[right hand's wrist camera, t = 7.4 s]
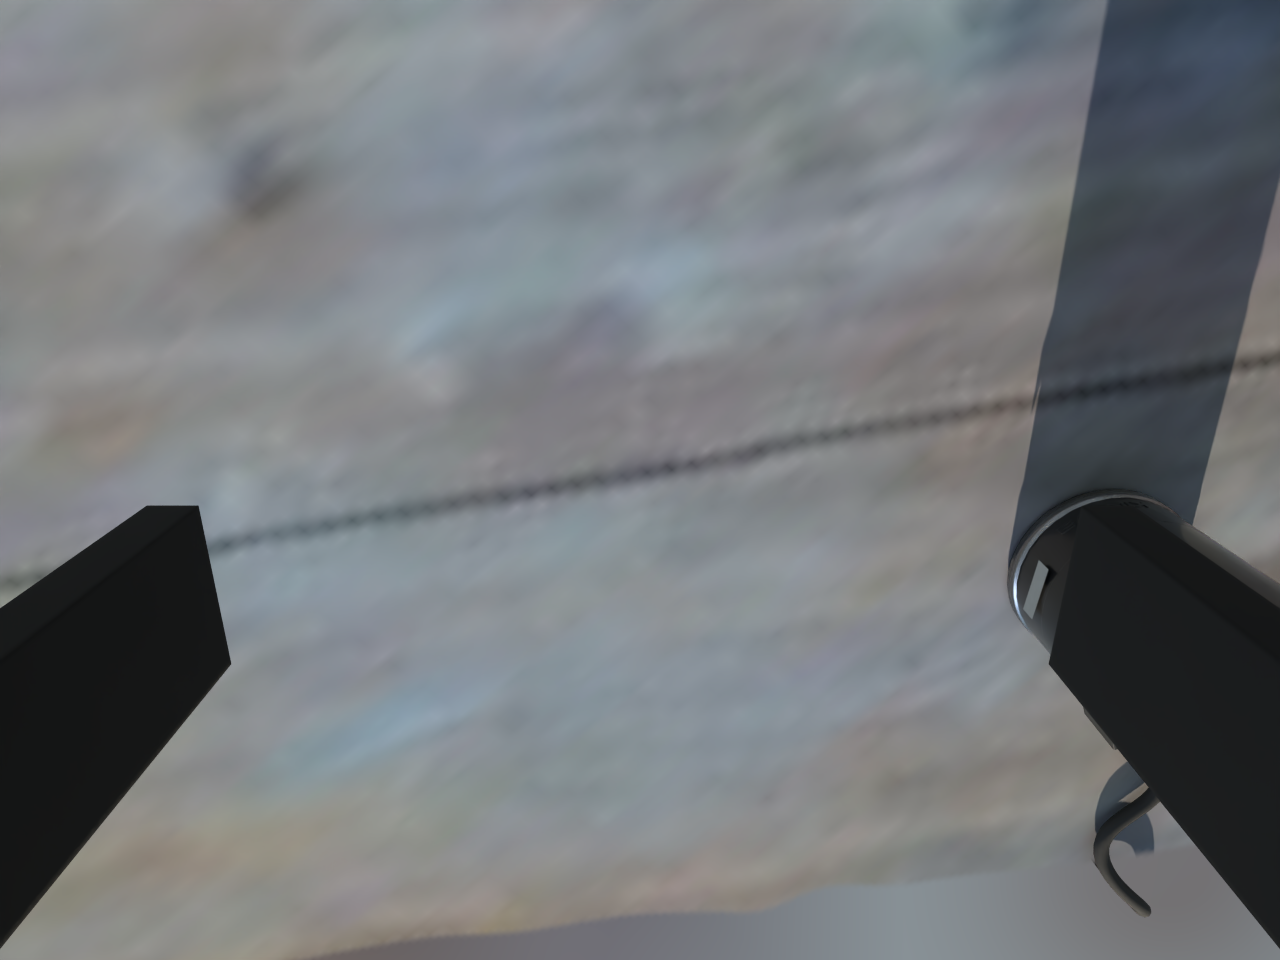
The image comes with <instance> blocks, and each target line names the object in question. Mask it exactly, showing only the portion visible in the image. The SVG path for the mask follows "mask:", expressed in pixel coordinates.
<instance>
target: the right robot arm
mask: <svg viewBox="0 0 1280 960" xmlns="http://www.w3.org/2000/svg"><path fill="white" fill-rule="evenodd" d="M230 665H231V660H230V656H229V651H228V646H227V641H226V636H225V631H224V627H223V622H222V617H221V612H220V607H219V602H218V598H217V593H216V588H215V583H214V578H213V574H212V569H211V564H210V559H209V554H208V549H207V545H206V540H205V535H204V530H203V525H202V521H201V516H200V511H199V506H146V507H144V508H143V509H141V510H140V511H139V512H137V513H136V514H134V515H133V516H131V517H130V518H129V519H127V520H126V521H124V522H123V523H121V524H120V525H119V526H117V527H116V528H114V529H113V530H111V531H110V532H109V533H107V534H106V535H104V536H103V537H101V538H100V539H99V540H97V541H96V542H94V543H93V544H91V545H90V546H89V547H87V548H86V549H84V550H83V551H81V552H80V553H79V554H77V555H76V556H74V557H73V558H71V559H70V560H69V561H67V562H66V563H64V564H63V565H61V566H60V567H59V568H57V569H56V570H54V571H53V572H51V573H50V574H49V575H47V576H46V577H44V578H43V579H41V580H40V581H39V582H37V583H36V584H34V585H33V586H31V587H30V588H29V589H27V590H26V591H24V592H23V593H21V594H20V595H19V596H17V597H16V598H14V599H13V600H11V601H10V602H9V603H7V604H6V605H4V606H3V607H1V608H0V948H1V947H2V946H3V945H4V943H5V942H6V941H7V940H8V938H9V937H10V936H11V935H12V934H13V932H14V931H15V930H16V929H17V927H18V926H19V925H20V924H21V922H22V921H23V920H24V919H25V918H26V916H27V915H28V914H29V913H30V911H31V910H32V909H33V908H34V906H35V905H36V904H37V903H38V902H39V900H40V899H41V898H42V897H43V895H44V894H45V893H46V892H47V890H48V889H49V888H50V887H51V886H52V884H53V883H54V882H55V881H56V879H57V878H58V877H59V876H60V874H61V873H62V872H63V871H64V869H65V868H66V867H67V866H68V865H69V863H70V862H71V861H72V860H73V858H74V857H75V856H76V855H77V853H78V852H79V851H80V850H81V849H82V847H83V846H84V845H85V844H86V842H87V841H88V840H89V839H90V837H91V836H92V835H93V834H94V833H95V831H96V830H97V829H98V828H99V826H100V825H101V824H102V823H103V821H104V820H105V819H106V818H107V816H108V815H109V814H110V813H111V812H112V810H113V809H114V808H115V807H116V805H117V804H118V803H119V802H120V800H121V799H122V798H123V797H124V796H125V794H126V793H127V792H128V791H129V789H130V788H131V787H132V786H133V784H134V783H135V782H136V781H137V780H138V778H139V777H140V776H141V775H142V773H143V772H144V771H145V770H146V768H147V767H148V766H149V765H150V764H151V762H152V761H153V760H154V759H155V757H156V756H157V755H158V754H159V752H160V751H161V750H162V749H163V747H164V746H165V745H166V744H167V743H168V741H169V740H170V739H171V738H172V736H173V735H174V734H175V733H176V731H177V730H178V729H179V728H180V727H181V725H182V724H183V723H184V722H185V720H186V719H187V718H188V717H189V715H190V714H191V713H192V712H193V711H194V709H195V708H196V707H197V706H198V704H199V703H200V702H201V701H202V699H203V698H204V697H205V696H206V695H207V693H208V692H209V691H210V690H211V688H212V687H213V686H214V685H215V683H216V682H217V681H218V680H219V678H220V677H221V676H222V675H223V674H224V672H225V671H226V670H227V669H228V667H229V666H230ZM1049 665H1050V666H1051V667H1052V669H1053V670H1054V671H1055V672H1056V674H1057V675H1058V676H1059V677H1060V678H1061V680H1062V681H1063V682H1064V683H1065V685H1066V686H1067V687H1068V688H1069V690H1070V691H1071V692H1072V693H1073V695H1074V696H1075V697H1076V698H1077V699H1078V701H1079V702H1080V703H1081V704H1082V706H1083V707H1084V708H1085V709H1086V711H1087V712H1088V713H1089V714H1090V715H1091V717H1092V718H1093V719H1094V720H1095V722H1096V723H1097V724H1098V725H1099V727H1100V728H1101V729H1102V730H1103V731H1104V733H1105V734H1106V735H1107V736H1108V738H1109V739H1110V740H1111V741H1112V743H1113V744H1114V745H1115V746H1116V747H1117V749H1118V750H1119V751H1120V752H1121V754H1122V755H1123V756H1124V757H1125V759H1126V760H1127V761H1128V762H1129V764H1130V765H1131V766H1132V767H1133V768H1134V770H1135V771H1136V772H1137V773H1138V775H1139V776H1140V777H1141V778H1142V780H1143V781H1144V782H1145V783H1146V784H1147V786H1148V787H1149V788H1150V789H1151V791H1152V792H1153V793H1154V794H1155V796H1156V797H1157V798H1158V799H1159V800H1160V802H1161V803H1162V804H1163V805H1164V807H1165V808H1166V809H1167V810H1168V812H1169V813H1170V814H1171V815H1172V816H1173V818H1174V819H1175V820H1176V821H1177V823H1178V824H1179V825H1180V826H1181V828H1182V829H1183V830H1184V831H1185V833H1186V834H1187V835H1188V836H1189V837H1190V839H1191V840H1192V841H1193V842H1194V844H1195V845H1196V846H1197V847H1198V849H1199V850H1200V851H1201V852H1202V853H1203V855H1204V856H1205V857H1206V858H1207V860H1208V861H1209V862H1210V863H1211V865H1212V866H1213V867H1214V868H1215V869H1216V871H1217V872H1218V873H1219V874H1220V876H1221V877H1222V878H1223V879H1224V881H1225V882H1226V883H1227V884H1228V885H1229V887H1230V888H1231V889H1232V890H1233V892H1234V893H1235V894H1236V895H1237V897H1238V898H1239V899H1240V900H1241V902H1242V903H1243V904H1244V905H1245V906H1246V908H1247V909H1248V910H1249V911H1250V913H1251V914H1252V915H1253V916H1254V917H1255V919H1256V920H1257V921H1258V922H1259V924H1260V925H1261V926H1262V927H1263V929H1264V930H1265V931H1266V932H1267V934H1268V935H1269V936H1270V937H1271V938H1272V940H1273V941H1274V942H1275V943H1276V945H1277V946H1278V947H1279V948H1280V608H1279V607H1277V606H1276V605H1274V604H1273V603H1271V602H1270V601H1269V600H1267V599H1266V598H1264V597H1263V596H1261V595H1260V594H1259V593H1257V592H1256V591H1254V590H1253V589H1251V588H1250V587H1249V586H1247V585H1246V584H1244V583H1243V582H1241V581H1240V580H1239V579H1237V578H1236V577H1234V576H1233V575H1231V574H1230V573H1229V572H1227V571H1226V570H1224V569H1223V568H1221V567H1220V566H1219V565H1217V564H1216V563H1214V562H1213V561H1211V560H1210V559H1209V558H1207V557H1206V556H1204V555H1203V554H1201V553H1200V552H1199V551H1197V550H1196V549H1194V548H1193V547H1191V546H1190V545H1189V544H1187V543H1186V542H1184V541H1183V540H1181V539H1180V538H1179V537H1177V536H1176V535H1174V534H1173V533H1171V532H1170V531H1169V530H1167V529H1166V528H1164V527H1163V526H1161V525H1160V524H1159V523H1157V522H1156V521H1154V520H1153V519H1151V518H1150V517H1149V516H1147V515H1146V514H1144V513H1143V512H1141V511H1140V510H1139V509H1137V508H1136V507H1134V506H1081V511H1080V516H1079V521H1078V525H1077V530H1076V535H1075V540H1074V545H1073V549H1072V554H1071V559H1070V564H1069V569H1068V574H1067V578H1066V583H1065V588H1064V593H1063V598H1062V602H1061V607H1060V612H1059V617H1058V622H1057V627H1056V631H1055V636H1054V641H1053V646H1052V651H1051V656H1050V660H1049Z"/></svg>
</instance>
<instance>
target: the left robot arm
mask: <svg viewBox="0 0 1280 960" xmlns="http://www.w3.org/2000/svg"><path fill="white" fill-rule="evenodd" d="M1081 506H1134V507H1136V508H1137V509H1139V510H1140V511H1141V512H1143V513H1144V514H1146V515H1147V516H1149V517H1150V518H1151V519H1153V520H1154V521H1156V522H1157V523H1159V524H1160V525H1161V526H1163V527H1164V528H1166V529H1167V530H1169V531H1170V532H1171V533H1173V534H1174V535H1176V536H1177V537H1179V538H1180V539H1181V540H1183V541H1184V542H1186V543H1187V544H1189V545H1190V546H1191V547H1193V548H1194V549H1196V550H1197V551H1199V552H1200V553H1201V554H1203V555H1204V556H1206V557H1207V558H1209V559H1210V560H1211V561H1213V562H1214V563H1216V564H1217V565H1219V566H1220V567H1221V568H1223V569H1224V570H1226V571H1227V572H1229V573H1230V574H1231V575H1233V576H1234V577H1236V578H1237V579H1239V580H1240V581H1241V582H1243V583H1244V584H1246V585H1247V586H1249V587H1250V588H1251V589H1253V590H1254V591H1256V592H1257V593H1259V594H1260V595H1261V596H1263V597H1264V598H1266V599H1267V600H1269V601H1270V602H1271V603H1273V604H1274V605H1276V606H1277V607H1279V608H1280V584H1279V583H1278V582H1276V581H1275V580H1273V579H1271V578H1270V577H1268V576H1267V575H1265V574H1264V573H1262V572H1261V571H1259V570H1258V569H1256V568H1255V567H1253V566H1252V565H1250V564H1249V563H1247V562H1246V561H1244V560H1243V559H1241V558H1240V557H1238V556H1237V555H1235V554H1234V553H1232V552H1231V551H1229V550H1228V549H1226V548H1225V547H1223V546H1222V545H1220V544H1219V543H1217V542H1216V541H1214V540H1213V539H1211V538H1210V537H1208V536H1207V535H1205V534H1204V533H1202V532H1201V531H1199V530H1198V529H1196V528H1195V527H1193V526H1192V525H1190V524H1189V523H1187V522H1186V521H1184V520H1183V519H1182V518H1181V517H1180V516H1179V515H1178V514H1177V513H1175V512H1174V511H1173V510H1171V509H1170V508H1169V507H1167V506H1166V505H1164V504H1163V503H1161V502H1159V501H1158V500H1156V499H1154V498H1152V497H1150V496H1148V495H1145V494H1143V493H1139V492H1136V491H1130V490H1122V489H1107V490H1099V491H1093V492H1089V493H1085V494H1082V495H1079V496H1076V497H1074V498H1071V499H1069V500H1067V501H1065V502H1063V503H1061V504H1059V505H1058V506H1056V507H1054V508H1053V509H1051V510H1050V511H1048V512H1047V513H1046V514H1045V515H1043V516H1042V517H1041V518H1040V519H1039V520H1038V521H1037V522H1036V523H1034V525H1033V526H1032V527H1031V528H1030V529H1029V530H1028V531H1027V533H1026V534H1025V535H1024V537H1023V538H1022V540H1021V541H1020V543H1019V544H1018V546H1017V548H1016V550H1015V552H1014V555H1013V557H1012V560H1011V563H1010V567H1009V572H1008V581H1007V585H1008V595H1009V599H1010V603H1011V606H1012V608H1013V610H1014V612H1015V614H1016V616H1017V617H1018V619H1019V620H1020V621H1021V623H1022V624H1023V625H1024V626H1025V627H1026V629H1027V630H1028V631H1029V632H1030V633H1031V634H1032V635H1033V636H1034V637H1035V638H1036V639H1037V640H1039V641H1040V642H1041V644H1042V645H1043V646H1044V647H1045V648H1046V650H1047V651H1048V652H1049V653H1050V654H1051V651H1052V646H1053V641H1054V636H1055V631H1056V627H1057V622H1058V617H1059V612H1060V607H1061V602H1062V598H1063V593H1064V588H1065V583H1066V578H1067V574H1068V569H1069V564H1070V559H1071V554H1072V549H1073V545H1074V540H1075V535H1076V530H1077V525H1078V521H1079V516H1080V511H1081ZM1083 708H1084V707H1083ZM1084 713H1085V715H1086V716H1087V717H1088V718H1089V720H1090V721H1091V722H1092V723H1093V725H1094V726H1095V727H1096V728H1097V730H1098V731H1099V732H1100V733H1101V735H1102V736H1103V737H1104V738H1105V740H1106V741H1107V742H1108V743H1109V745H1110V746H1111V747H1112V748H1113V749H1114V750H1116V749H1117V747H1116V746H1115V745H1114V744H1113V743H1112V741H1111V740H1110V739H1109V738H1108V736H1107V735H1106V734H1105V733H1104V731H1103V730H1102V729H1101V728H1100V727H1099V725H1098V724H1097V723H1096V722H1095V720H1094V719H1093V718H1092V717H1091V715H1090V714H1089V713H1088V712H1087V711H1086V709H1085V708H1084ZM1159 802H1160V800H1159V799H1158V798H1157V797H1156V796H1155V794H1154V793H1153V792H1152V791H1151V789H1150V788H1148V789H1147V790H1146V791H1145V792H1144V793H1143V794H1142V795H1141V796H1140V797H1138V798H1137V799H1136V800H1134V801H1133V802H1132V803H1130V804H1129V805H1127V806H1126V807H1124V808H1123V809H1121V810H1120V811H1119V812H1117V813H1116V814H1115V815H1113V816H1112V817H1111V818H1110V819H1109V820H1107V821H1106V822H1105V824H1104V825H1103V826H1102V827H1101V828H1100V830H1099V831H1098V833H1097V835H1096V838H1095V842H1094V858H1095V862H1093V863H1094V864H1095V866H1096V867H1097V868H1098V869H1099V871H1100V873H1101V874H1102V876H1103V877H1104V879H1105V880H1106V881H1107V883H1108V884H1109V885H1110V887H1111V888H1112V889H1113V890H1114V891H1115V892H1116V893H1117V894H1118V895H1119V896H1120V897H1121V898H1122V899H1123V900H1124V901H1125V902H1126V903H1127V904H1128V905H1129V906H1130V907H1131V908H1132V909H1133V910H1134V911H1135V912H1136V913H1137V914H1138V915H1140V916H1143V917H1148V916H1150V914H1151V909H1150V906H1149V905H1148V904H1147V903H1146V902H1145V901H1144V900H1143V899H1142V898H1140V897H1139V896H1138V895H1137V894H1136V893H1135V892H1134V891H1133V890H1132V889H1130V888H1129V887H1128V886H1127V885H1126V884H1125V883H1124V881H1123V880H1122V879H1121V878H1120V877H1119V875H1118V874H1117V873H1116V871H1115V869H1114V868H1113V865H1112V863H1111V861H1110V856H1109V847H1110V844H1111V842H1112V840H1113V839H1114V838H1115V836H1116V835H1117V834H1118V833H1119V832H1121V831H1122V830H1123V829H1124V828H1125V827H1127V826H1128V825H1129V824H1131V823H1132V822H1134V821H1135V820H1137V819H1138V818H1140V817H1141V816H1142V815H1144V814H1145V813H1147V812H1148V811H1149V810H1151V809H1152V808H1153V807H1154V806H1155V805H1157V804H1158V803H1159Z"/></svg>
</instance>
